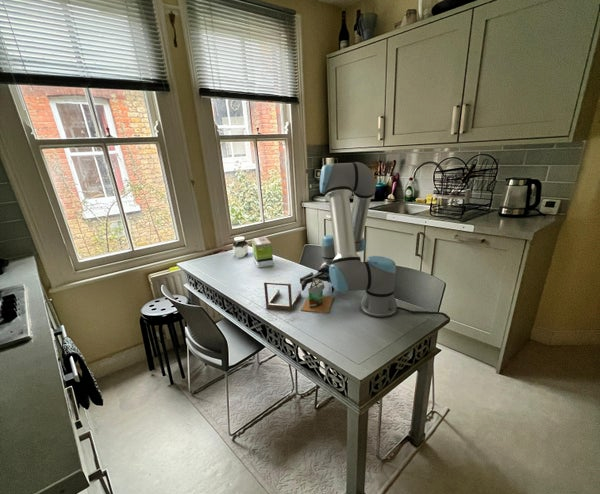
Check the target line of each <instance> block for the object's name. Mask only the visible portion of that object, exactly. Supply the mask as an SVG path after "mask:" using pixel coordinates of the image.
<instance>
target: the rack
mask: <svg viewBox="0 0 600 494" xmlns="http://www.w3.org/2000/svg"><path fill="white" fill-rule="evenodd" d="M268 285H270V286H271V285H273V286H284V287H285V286H287V291H288V303H289V304H281V303H274V302H276V300H277V299H278V297H279V296H280V294H281V292H280V291H281V290H280V289H277V290H276V291H275V292H274V293H273V295H272V296H271V297H270V298H269V293H268ZM263 288H264V295H265V296H264V298H265V309H266V310H273V311H274V310H275V311H285V312H293V310H294V308H295V306H296V305H297V303H298V302H299V300H300V299H301V296H302V290H298V292H297V293H296V295H295V296H294V298H292V297H293V296H292V284H291V283H290V282H274V281H273V282H272V281H264V282H263Z"/></svg>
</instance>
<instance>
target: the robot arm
mask: <svg viewBox="0 0 600 494" xmlns="http://www.w3.org/2000/svg"><path fill="white" fill-rule="evenodd" d="M375 192H376V179H375V176H374V173H373V171H372V170H371V169H370V168H369V167H368V165H366V164H364V163H363V162H359V161H358V162H357V161H355V162H342V163H341V162H339V163H328V164H324V165H323V166H322V167H321V170H320V176H319V193H320V194H322V195H324V198H325V200H326V201H328V205H329V213H330V222H331V229H332V230H331V231H332V234H327V235H324V236H323V237H322V241H321V249H322V250H321V251H322V256H321V258H322V263H321V265H320V267H319V268H318V270H317V273H314V272H312V271H310V272H309V273H308V274H306V275H303V276H302V277H299V284H301V285H300V286H301V292H304V291H305V289H306V288H307V286H308V285H309V284H311V283H312V282H313V278H316V279H320V280H322V281H323V282H327V283H329V284H331V294H332V293H333V294H334V292H338V293H349V292H360V291H365V293H364V295H363V298H362V299H361V303H360V310H361V312H362V313H363V314H365V315H367V316H369V317H373V318H389V317H392V316H394V315H395V314H396V313H397V311H398V310H401V311H403V312H407V313H410V314H420V315H421V314H422V315H423V314H424V315H425V314H427V315H441V316H443V317H445V318H446V319H450V316H449V315H448V314H447V313H444V312H441V311H430V310H429V311H427V310H411V309H408V308H405V307H401V306H398V304H397V301H396V298H395V285H396V284H395V283H396V275H397V274H396V273H397V264H396V262H395V261H394V260H393V259H391V258H389V257H386V256H381V255H370V256H368V257H367V258H366V261H362V259H361V256H360V255H358V254H357V253H361V252H364V251H365V249H366V239H365V238H364V237H363V235H364V231H365V227H366V222H367V217H368V213H369V210H370V209H369V208H370V204H371V200H372V198H373V197H375V196H374V195H375ZM352 196H353V199H352V200H353V202H352V207H351V201H350V198H351V197H352Z"/></svg>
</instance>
